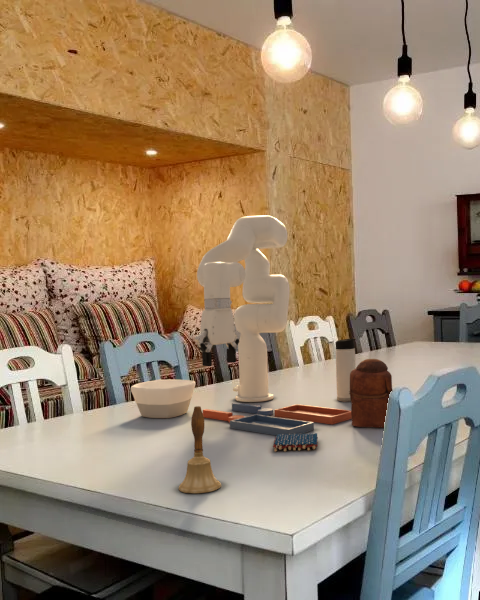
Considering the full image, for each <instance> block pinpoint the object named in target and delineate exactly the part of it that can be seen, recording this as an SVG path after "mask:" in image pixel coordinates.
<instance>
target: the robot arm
mask: <svg viewBox="0 0 480 600" xmlns="http://www.w3.org/2000/svg"><path fill="white" fill-rule="evenodd" d="M287 241H288V231H287V227H286V226H285V224H284V223H283V222H282V221H280V220H279V219H278V218H276V217H274V216H272V215H267V214H264V215H247V216H242V217H239V218H237V219H236V220H235V222H234V224H233V226H232V228H231V230H230V232H229V234H228V236H227V238H226V240H225V241H223V242H220V243H219V244H217V245H216V246H213V247H212V248H211V249H209V250H207V252H205V254H204V255H203V256H202V259H201V261H200V262H199V264H198V267H197V272H196V278H197V279H196V280H197V282H198V284H199V285H200V286H201V287H203V299H204V300H203V301H204V310H202V312H201V317H200V332H199V334H197V335H196V336H195V337H194V341H195V342H196V345H197V348H198V349H199V352H201V357H202V358H201V360H202V367H212V365H213V359H212V355H213V354H212V351H211V350H212V348H213V346H216V345H218V346H219V345H226V347H227V348H226V362H227V363H233V364H234V363H236V362H237V353H238V376H239V378H238V379H239V384H237V385H235V387H233V388H232V391H233V392H236V393H237V395H235V397H234V399H235V401H236V402H239V403H260V402H267V401H271V400H273V399H274V393H270V392H269V370H268V369H269V367H268V347H267V343H266V341H265V339H264V338H263V337H262V336H261V334H269V333H270V334H273V333H281V332H283V331H284V330H285V329H286V327H287V324H288V315H289V306H290V305H289V304H290V294H291V293H290V291H291V288H290V282H289V280H288V277H286V276H285V275H283V274H270V272H271V263H270V260H269V259H268V258H267V256H266V255H265V254H264V253H263V252H262V251H261V250H260V249H280V248H281V249H282V248H283V247H284V246H286V244H287ZM243 260H244V264H245V266H243V264H241V263H240V262H242V261H243ZM241 285H242V294H241V295H242V298H243V300H244V301H245V302H247V304H241V305H240V306H238V307H237V308H236V309H235V310H234V313H233V309H232V304H233V302H232V300H231V288H236V287H239V286H241Z"/></svg>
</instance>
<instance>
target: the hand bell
mask: <svg viewBox="0 0 480 600" xmlns="http://www.w3.org/2000/svg"><path fill="white" fill-rule="evenodd" d="M190 425H191V427H190V428H191V432H192V434H193V441H194V442H193V443H194V446H193V447H194V450H193V451H194V452H193V457H192V458H191V459H188V461H187V463H186V466H187V467H186V473H185V476H184V479H183V481H182V482H181V483H180V484H179V486H178V491H180V492H181V493H185V494H205V493H210V492H214V491H216V490H219V489H220V488H222V483H221V482H220V481H219V480H218V479H217V478H216V476H215V475H214V471H213V469H212V464H211V460H210V459H209V458H208V457H205V456H204V453H203V452H204V448H203V447H204V446H203V436H204V432H205V417H204V416H203V409H202V407H201V406H199V405H198V406H197V405H196V406H194V407H193V412H192V414H191V419H190Z"/></svg>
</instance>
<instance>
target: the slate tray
mask: <svg viewBox="0 0 480 600" xmlns="http://www.w3.org/2000/svg"><path fill="white" fill-rule="evenodd" d="M229 428H230V429H233V430H239V431H245V432H253V433H259V434H265V435H271V436H276V437H277V435H279V434H281V435H282V434H283V435H285V434H287V435H289V434H290V435H291V434H303V433H304V434H306V433H308V432H309V433H310V432H311V431H314V430H315V422H311V421H303V420H296V419H289V418H282V417H275V416H272V415H269V416H263V415H258V414H255V413H254V414H252V415H248V416H245V417H243V418H239V419H235V420H231V421H230V423H229Z"/></svg>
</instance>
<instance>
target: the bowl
mask: <svg viewBox="0 0 480 600" xmlns="http://www.w3.org/2000/svg"><path fill="white" fill-rule="evenodd" d="M195 387H196V381H195V380H190V379H155V380H148V381H144V382H139V383H136V384H133V385H131V387H130V392H131V394H132V397H133V400H134V401H135V403H136V406H137V409H138V410H139V413H140V416H141V417H142V418H147V419H172V418H177V417H180V416H183V415H185V414H186V413H188V411H189V408H190V405H191V400H192V398H193V394H194V391H195Z"/></svg>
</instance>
